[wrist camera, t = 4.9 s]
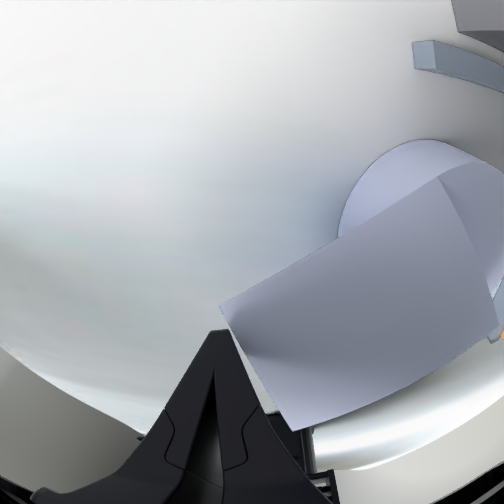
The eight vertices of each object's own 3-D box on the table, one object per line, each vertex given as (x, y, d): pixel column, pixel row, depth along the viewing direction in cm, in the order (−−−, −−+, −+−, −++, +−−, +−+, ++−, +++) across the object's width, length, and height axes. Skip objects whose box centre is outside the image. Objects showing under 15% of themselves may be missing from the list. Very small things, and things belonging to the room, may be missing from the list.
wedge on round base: (315, 349, 16) (485, 246, 13) (334, 447, 11) (546, 318, 7) (223, 252, 12) (458, 109, 8) (211, 390, 7) (576, 157, 3)
